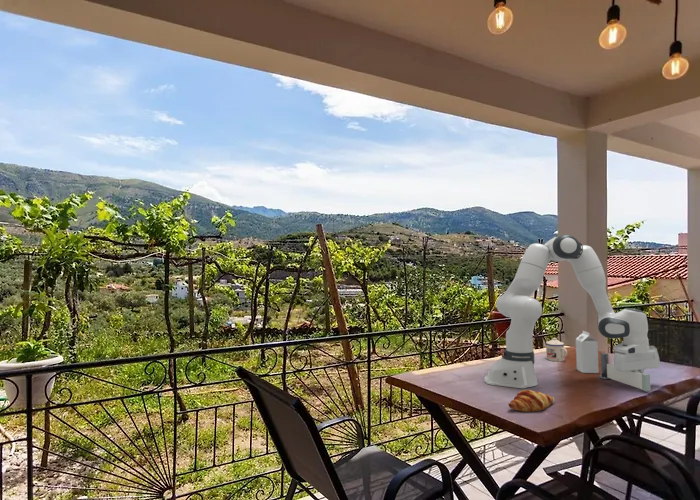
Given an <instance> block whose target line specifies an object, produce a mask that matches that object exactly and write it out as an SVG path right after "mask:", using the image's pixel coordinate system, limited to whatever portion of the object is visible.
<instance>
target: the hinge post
mask: <svg viewBox="0 0 700 500" xmlns="http://www.w3.org/2000/svg"><path fill="white" fill-rule="evenodd" d="M609 359H610V358H609V353H605V352H602V353H600V370H601V371H600V372H601V373H600V375H598V378H599V379H600V380H606V381H609V380H610V381H612V379H611V378H608V377H607V364H610V363H609Z"/></svg>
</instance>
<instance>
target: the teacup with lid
mask: <svg viewBox="0 0 700 500" xmlns="http://www.w3.org/2000/svg"><path fill="white" fill-rule="evenodd" d="M545 348H546V360H548V361H550V362H564V361H565V358H566V357H567V355H568V350H567V348H565V343H564V342H562V341H560V340H558V338H557V337H553V338H552V339H550V340H549V341H548V340H547V341H545Z"/></svg>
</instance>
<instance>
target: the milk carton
mask: <svg viewBox="0 0 700 500" xmlns="http://www.w3.org/2000/svg"><path fill="white" fill-rule="evenodd" d="M590 334H591V333H590V332H588V331H585V330H582V333H580V334H579V336H577V337H576V338H575V357H576V359H575V360H576V370H577V371H578V372H581V373H583V374H599V373H600V372H599V371H600V370H599V369H600V368H599V349H598V348H599V347H598V341H597V340H596V339H595V338H593V337H592V336H591V335H590Z"/></svg>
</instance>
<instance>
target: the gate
mask: <svg viewBox="0 0 700 500" xmlns="http://www.w3.org/2000/svg"><path fill="white" fill-rule="evenodd" d="M607 377H608V378H611V380H613V381H616V382H619V383H621V384H622V383H623V384H626V385H628V386H631V387H634V388H637V389H639V390H642V391H645V392H651V376H650V373H649V374H648V373H645V372H644V373H643V374H642V373H639V372H635V371H623V372H622V371H618V370H616V369H615V368H614V364H612V363H609V364H607Z"/></svg>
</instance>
